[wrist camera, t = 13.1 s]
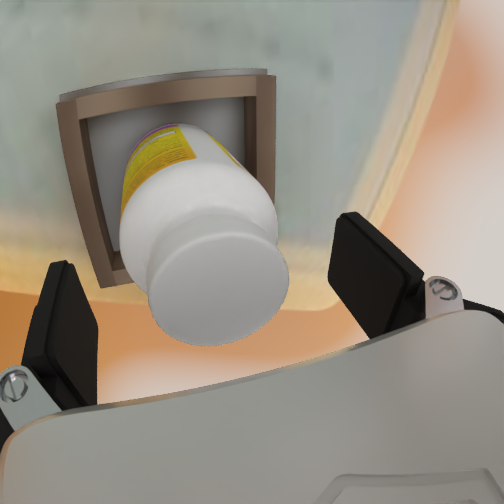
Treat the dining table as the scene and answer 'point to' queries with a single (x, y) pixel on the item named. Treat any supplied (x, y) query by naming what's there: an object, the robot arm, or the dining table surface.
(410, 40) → the dining table surface
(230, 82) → the shallow square brown tray
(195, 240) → the supplement bottle
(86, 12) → the dining table surface
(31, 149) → the dining table surface
